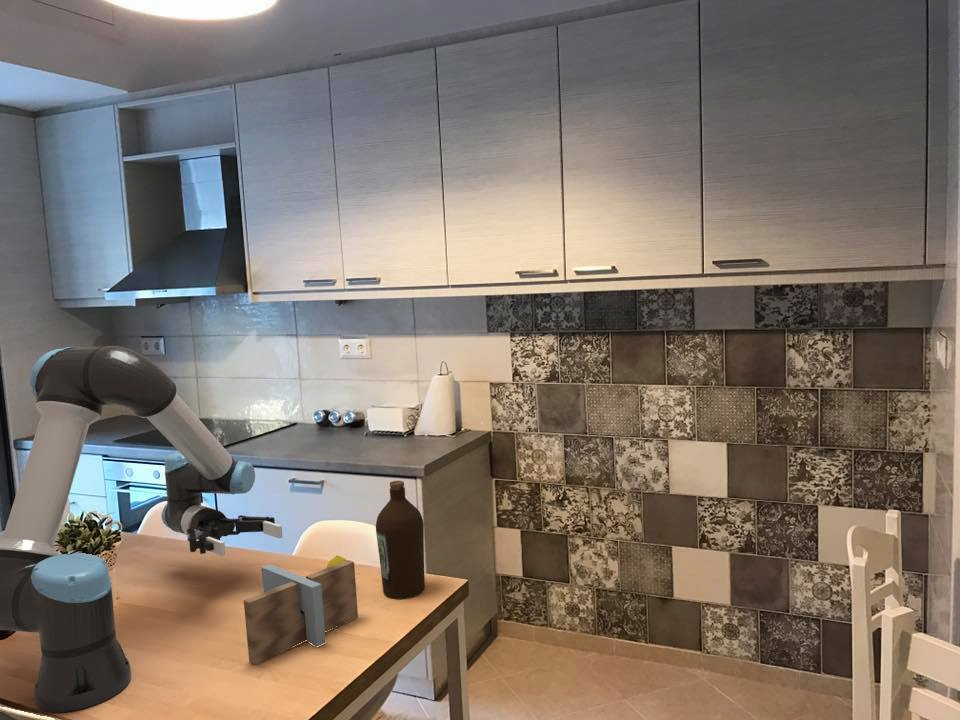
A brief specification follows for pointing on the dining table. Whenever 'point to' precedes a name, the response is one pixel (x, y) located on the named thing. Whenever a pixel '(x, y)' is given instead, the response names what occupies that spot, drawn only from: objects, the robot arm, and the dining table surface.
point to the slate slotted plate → (301, 599)
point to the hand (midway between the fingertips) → (252, 540)
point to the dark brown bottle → (401, 546)
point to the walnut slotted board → (297, 611)
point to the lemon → (336, 561)
